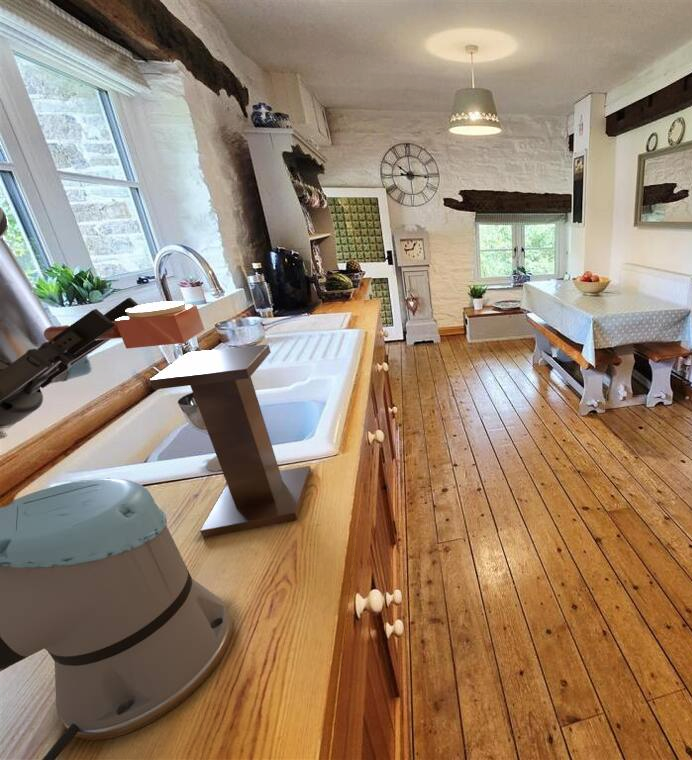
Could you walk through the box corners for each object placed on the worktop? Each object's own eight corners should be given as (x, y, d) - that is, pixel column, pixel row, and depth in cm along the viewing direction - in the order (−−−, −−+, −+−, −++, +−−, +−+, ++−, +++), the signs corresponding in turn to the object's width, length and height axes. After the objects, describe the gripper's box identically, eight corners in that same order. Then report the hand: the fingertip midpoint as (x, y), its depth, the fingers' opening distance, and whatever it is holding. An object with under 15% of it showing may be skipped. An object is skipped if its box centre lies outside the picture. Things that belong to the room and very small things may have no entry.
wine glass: (256, 450, 89) (235, 387, 83) (230, 472, 82) (205, 405, 76) (222, 449, 90) (199, 387, 84) (193, 471, 82) (166, 405, 76)
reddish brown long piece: (33, 357, 54) (14, 322, 52) (70, 342, 60) (55, 309, 58) (184, 343, 57) (172, 309, 55) (204, 329, 64) (194, 299, 62)
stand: (202, 537, 65) (136, 383, 55) (232, 485, 78) (183, 351, 67) (297, 519, 68) (251, 370, 58) (311, 471, 81) (276, 341, 70)
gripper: (66, 395, 68) (178, 315, 68) (-50, 461, 50) (102, 354, 50) (18, 361, 64) (137, 277, 64) (-124, 419, 47) (38, 304, 46)
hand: (121, 311), depth 57 cm, fingers closed on reddish brown long piece, 7 cm apart
